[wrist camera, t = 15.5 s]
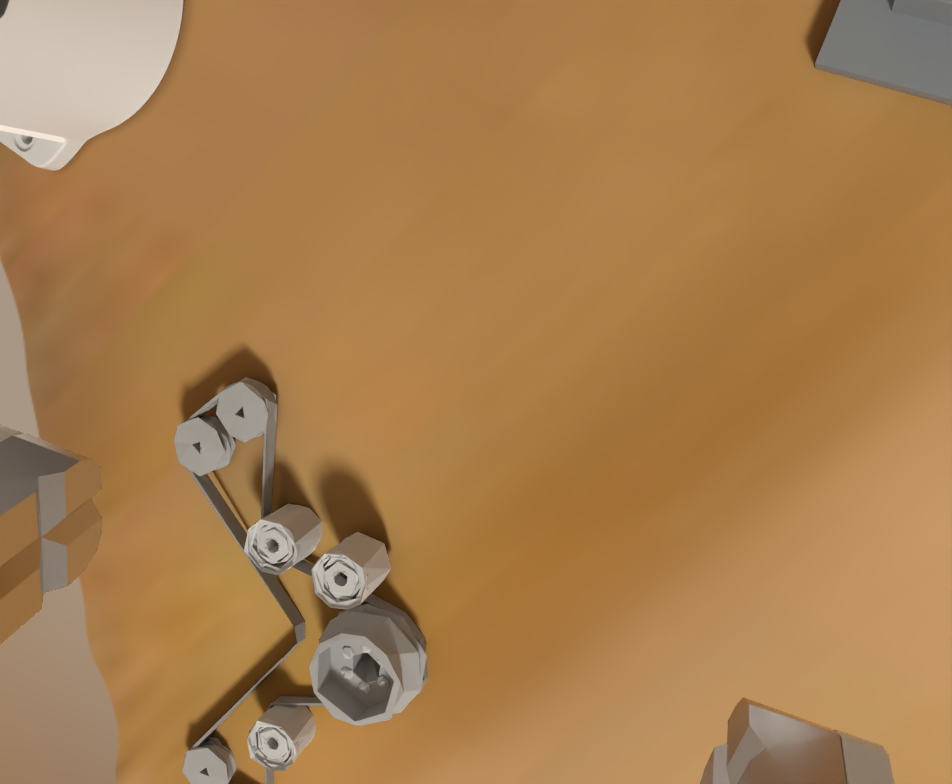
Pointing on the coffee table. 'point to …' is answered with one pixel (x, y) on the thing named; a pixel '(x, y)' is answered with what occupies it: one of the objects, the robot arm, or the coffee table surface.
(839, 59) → the shaft housing
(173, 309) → the coffee table surface
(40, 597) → the robot arm
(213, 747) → the pulley system
